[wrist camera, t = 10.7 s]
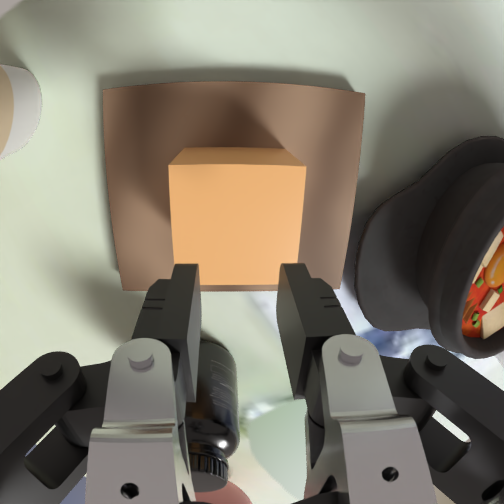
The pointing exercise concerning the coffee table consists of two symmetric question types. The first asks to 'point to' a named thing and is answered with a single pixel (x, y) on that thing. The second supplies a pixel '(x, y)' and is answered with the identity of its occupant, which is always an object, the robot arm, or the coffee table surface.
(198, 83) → the post stand
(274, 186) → the peach cube
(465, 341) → the casserole
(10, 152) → the coffee cup
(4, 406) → the robot arm
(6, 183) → the coffee table surface
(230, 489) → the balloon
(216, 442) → the supplement bottle
